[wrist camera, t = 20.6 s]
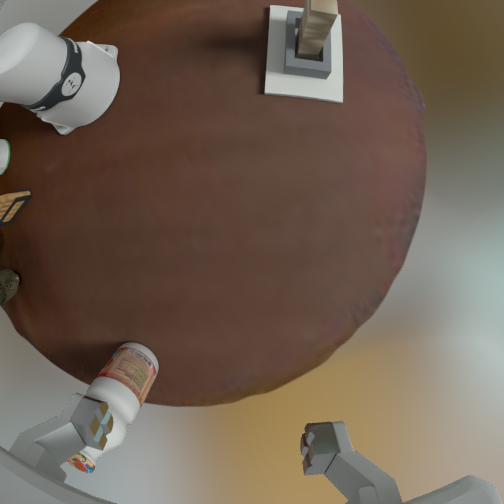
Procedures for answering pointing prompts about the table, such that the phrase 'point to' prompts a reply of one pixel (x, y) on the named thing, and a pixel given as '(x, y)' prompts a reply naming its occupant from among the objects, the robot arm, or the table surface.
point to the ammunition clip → (12, 205)
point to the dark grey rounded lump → (8, 284)
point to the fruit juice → (120, 396)
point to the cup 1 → (4, 155)
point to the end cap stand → (302, 60)
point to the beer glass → (1, 242)
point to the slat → (315, 27)
